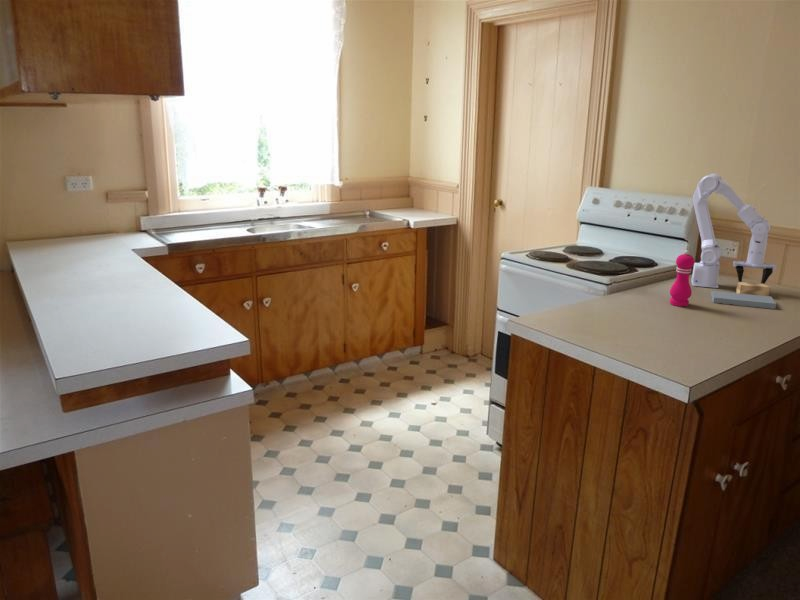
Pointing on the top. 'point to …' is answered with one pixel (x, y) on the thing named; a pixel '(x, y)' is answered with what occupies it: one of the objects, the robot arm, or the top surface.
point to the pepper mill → (682, 280)
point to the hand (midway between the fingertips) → (750, 286)
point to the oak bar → (753, 288)
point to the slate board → (743, 299)
